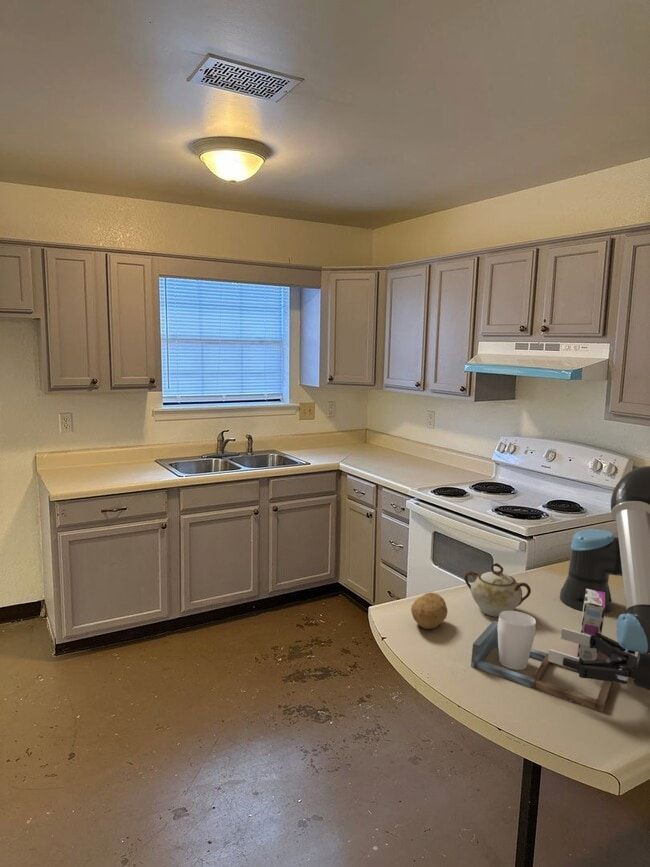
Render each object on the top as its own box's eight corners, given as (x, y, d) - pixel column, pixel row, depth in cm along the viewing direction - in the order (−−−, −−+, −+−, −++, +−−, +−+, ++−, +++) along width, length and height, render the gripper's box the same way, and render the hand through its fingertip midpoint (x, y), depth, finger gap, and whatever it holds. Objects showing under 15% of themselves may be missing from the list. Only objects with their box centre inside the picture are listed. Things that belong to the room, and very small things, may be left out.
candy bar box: (597, 669, 148) (605, 607, 145) (576, 663, 150) (583, 602, 148) (598, 649, 158) (605, 591, 156) (578, 645, 160) (585, 587, 158)
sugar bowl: (454, 611, 177) (458, 563, 175) (469, 594, 190) (473, 549, 188) (521, 629, 167) (527, 579, 165) (533, 611, 180) (538, 564, 178)
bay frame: (613, 680, 143) (616, 656, 142) (602, 711, 130) (605, 686, 129) (491, 641, 159) (493, 620, 158) (470, 666, 146) (472, 643, 145)
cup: (534, 675, 143) (539, 629, 142) (495, 669, 145) (500, 623, 143) (529, 657, 152) (533, 613, 150) (492, 652, 154) (497, 608, 152)
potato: (403, 631, 163) (405, 603, 162) (418, 612, 175) (420, 586, 174) (438, 640, 159) (440, 612, 157) (450, 619, 171) (453, 593, 170)
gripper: (647, 716, 121) (540, 680, 132) (658, 666, 141) (565, 638, 153) (652, 682, 120) (544, 649, 131) (662, 636, 140) (568, 611, 152)
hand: (555, 643), depth 142 cm, fingers open, 13 cm apart
